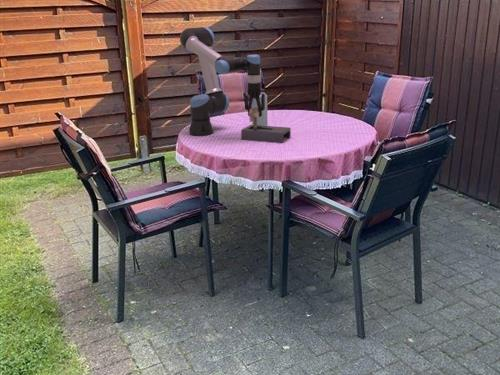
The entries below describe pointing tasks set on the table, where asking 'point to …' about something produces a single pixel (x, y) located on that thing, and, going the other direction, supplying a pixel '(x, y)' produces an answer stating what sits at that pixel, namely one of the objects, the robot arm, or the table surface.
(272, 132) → the keyhole plate
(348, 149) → the table surface
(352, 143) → the table surface
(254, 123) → the peg
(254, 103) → the water bottle
